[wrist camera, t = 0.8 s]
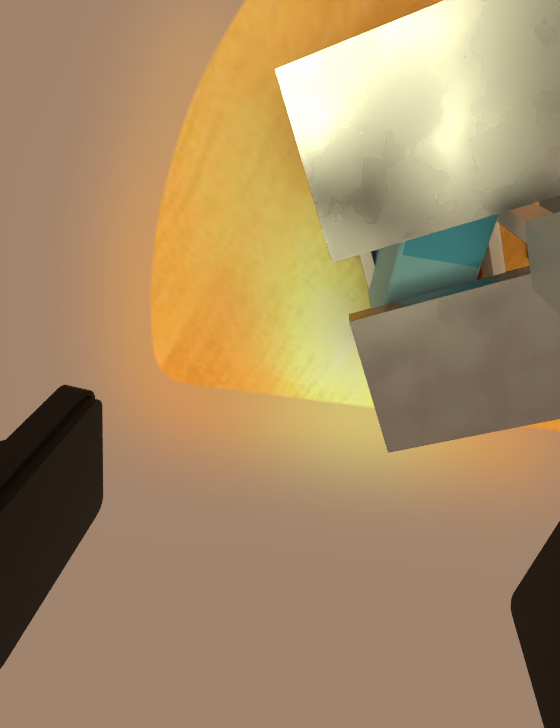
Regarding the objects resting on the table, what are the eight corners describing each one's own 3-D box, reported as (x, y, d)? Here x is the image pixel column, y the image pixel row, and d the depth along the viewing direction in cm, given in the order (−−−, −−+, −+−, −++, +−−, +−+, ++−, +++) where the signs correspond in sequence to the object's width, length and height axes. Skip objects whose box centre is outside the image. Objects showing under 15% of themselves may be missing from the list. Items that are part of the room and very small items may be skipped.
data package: (422, 286, 39) (452, 354, 29) (365, 276, 39) (374, 341, 29) (470, 118, 34) (530, 126, 23) (403, 108, 34) (433, 111, 23)
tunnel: (467, 15, 31) (561, -47, 18) (509, 307, 40) (595, 411, 26) (300, 81, 34) (274, 68, 21) (373, 342, 42) (388, 452, 29)
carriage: (477, 51, 32) (683, -23, 13) (510, 285, 38) (677, 465, 19) (322, 109, 34) (300, 120, 15) (378, 319, 41) (412, 510, 22)
